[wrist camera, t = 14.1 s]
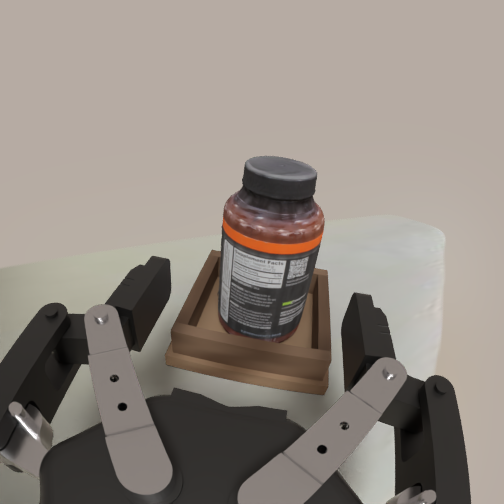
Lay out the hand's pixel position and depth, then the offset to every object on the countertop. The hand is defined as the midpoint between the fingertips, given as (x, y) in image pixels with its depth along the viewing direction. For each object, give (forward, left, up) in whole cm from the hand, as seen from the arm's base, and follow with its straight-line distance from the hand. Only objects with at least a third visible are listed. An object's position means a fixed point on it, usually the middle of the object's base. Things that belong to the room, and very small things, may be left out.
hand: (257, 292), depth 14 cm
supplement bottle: (0, +6, -8) cm, 10 cm away
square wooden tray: (0, +7, -8) cm, 11 cm away
